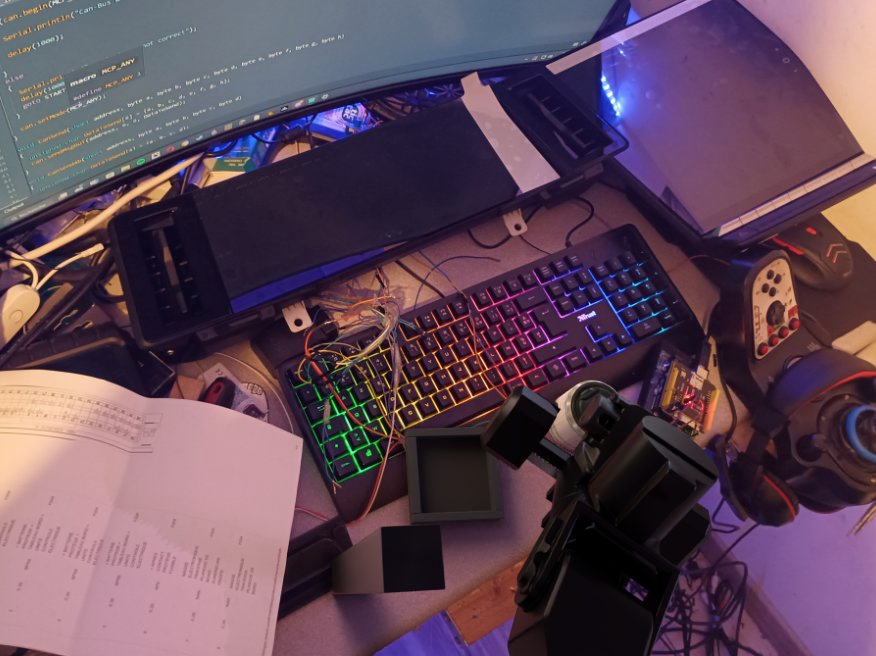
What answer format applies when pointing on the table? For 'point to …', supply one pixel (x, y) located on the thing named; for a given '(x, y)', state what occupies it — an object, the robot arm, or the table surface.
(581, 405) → the camera lens
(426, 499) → the black square open tray
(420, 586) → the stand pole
